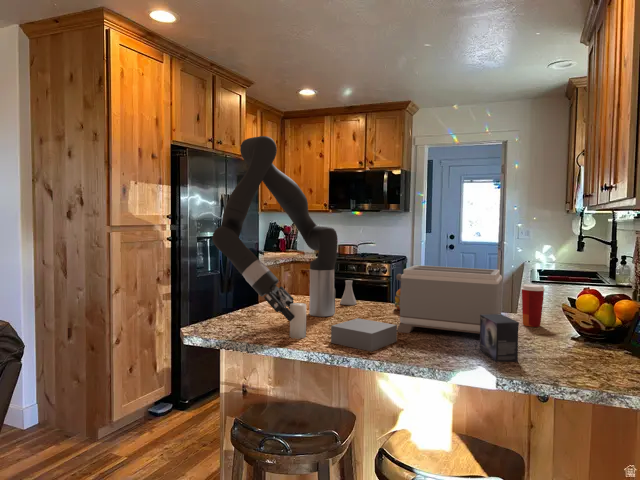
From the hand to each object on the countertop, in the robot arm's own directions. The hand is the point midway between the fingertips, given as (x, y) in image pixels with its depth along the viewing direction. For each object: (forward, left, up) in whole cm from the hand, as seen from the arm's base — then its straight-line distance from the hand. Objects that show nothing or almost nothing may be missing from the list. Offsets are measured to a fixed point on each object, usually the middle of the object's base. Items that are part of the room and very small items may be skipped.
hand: (295, 316), depth 145 cm
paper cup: (-66, +52, -6) cm, 84 cm away
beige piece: (0, +1, -6) cm, 6 cm away
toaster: (-39, +32, -7) cm, 51 cm away
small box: (-20, +55, -7) cm, 59 cm away
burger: (-61, +8, -7) cm, 62 cm away
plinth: (-8, +20, -6) cm, 22 cm away
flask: (-56, -19, -7) cm, 60 cm away
